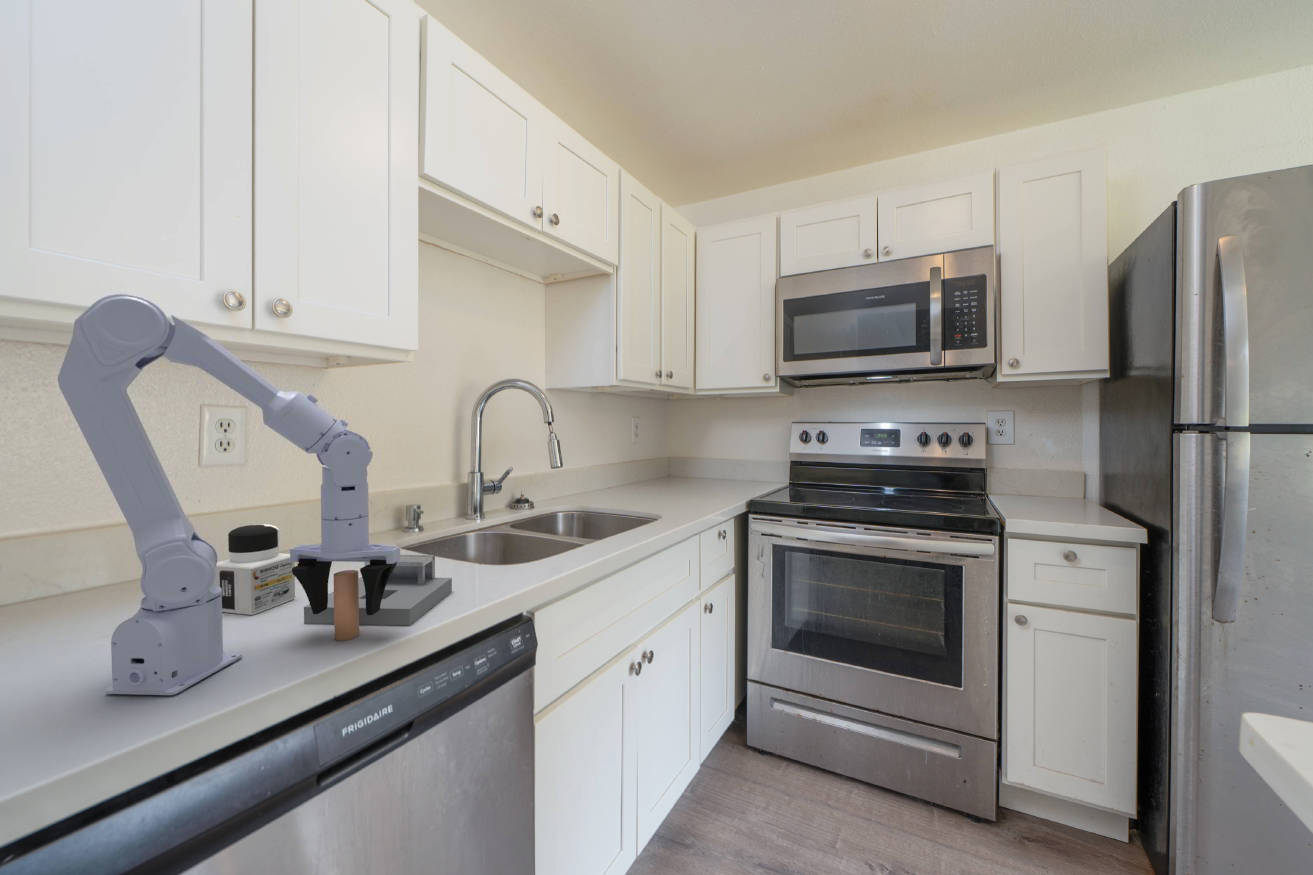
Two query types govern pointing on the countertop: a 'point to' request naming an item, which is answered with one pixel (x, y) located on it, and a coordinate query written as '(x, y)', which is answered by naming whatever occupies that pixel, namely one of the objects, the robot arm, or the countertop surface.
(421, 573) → the grey bridge
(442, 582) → the socket board
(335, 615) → the peg
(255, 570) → the container
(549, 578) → the countertop surface
